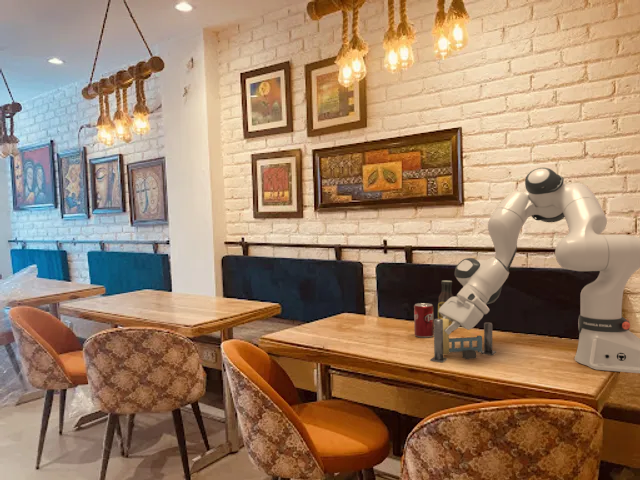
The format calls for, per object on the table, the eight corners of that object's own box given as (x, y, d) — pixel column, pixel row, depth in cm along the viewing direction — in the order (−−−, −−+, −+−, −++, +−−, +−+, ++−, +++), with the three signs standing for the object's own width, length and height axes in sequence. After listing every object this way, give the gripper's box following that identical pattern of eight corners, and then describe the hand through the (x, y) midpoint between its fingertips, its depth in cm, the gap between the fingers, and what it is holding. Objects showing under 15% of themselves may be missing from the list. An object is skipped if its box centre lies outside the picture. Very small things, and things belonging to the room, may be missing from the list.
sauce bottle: (436, 332, 202) (435, 281, 201) (438, 328, 208) (438, 279, 207) (453, 333, 200) (453, 282, 199) (455, 329, 206) (454, 280, 204)
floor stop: (471, 356, 167) (471, 349, 167) (476, 358, 165) (476, 351, 165) (462, 357, 166) (462, 350, 166) (466, 359, 164) (466, 352, 164)
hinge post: (496, 352, 171) (496, 322, 170) (492, 355, 168) (492, 325, 167) (484, 351, 173) (483, 321, 173) (480, 353, 170) (480, 323, 169)
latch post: (447, 359, 164) (446, 319, 164) (442, 362, 161) (441, 321, 160) (435, 357, 167) (434, 317, 166) (430, 360, 163) (429, 320, 163)
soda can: (412, 337, 195) (411, 305, 194) (417, 333, 201) (417, 302, 201) (430, 338, 191) (430, 306, 191) (436, 334, 198) (435, 303, 197)
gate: (479, 350, 172) (479, 316, 171) (483, 352, 169) (483, 318, 168) (438, 352, 170) (438, 318, 169) (441, 355, 167) (441, 320, 166)
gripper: (451, 288, 178) (424, 317, 178) (478, 298, 158) (449, 332, 157) (463, 300, 180) (437, 329, 179) (492, 311, 159) (463, 345, 158)
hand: (443, 331), depth 168 cm, fingers open, 4 cm apart
